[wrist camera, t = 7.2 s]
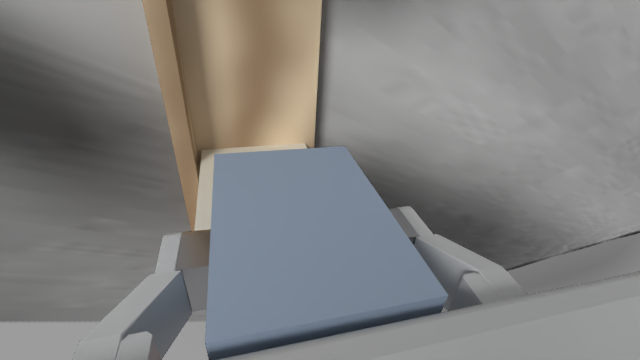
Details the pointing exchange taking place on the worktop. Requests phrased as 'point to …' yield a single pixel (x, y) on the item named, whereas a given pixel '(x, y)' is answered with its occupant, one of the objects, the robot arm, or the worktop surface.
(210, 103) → the rack
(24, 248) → the worktop surface
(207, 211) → the book
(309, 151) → the pale blue cuboid
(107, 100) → the worktop surface
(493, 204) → the worktop surface
